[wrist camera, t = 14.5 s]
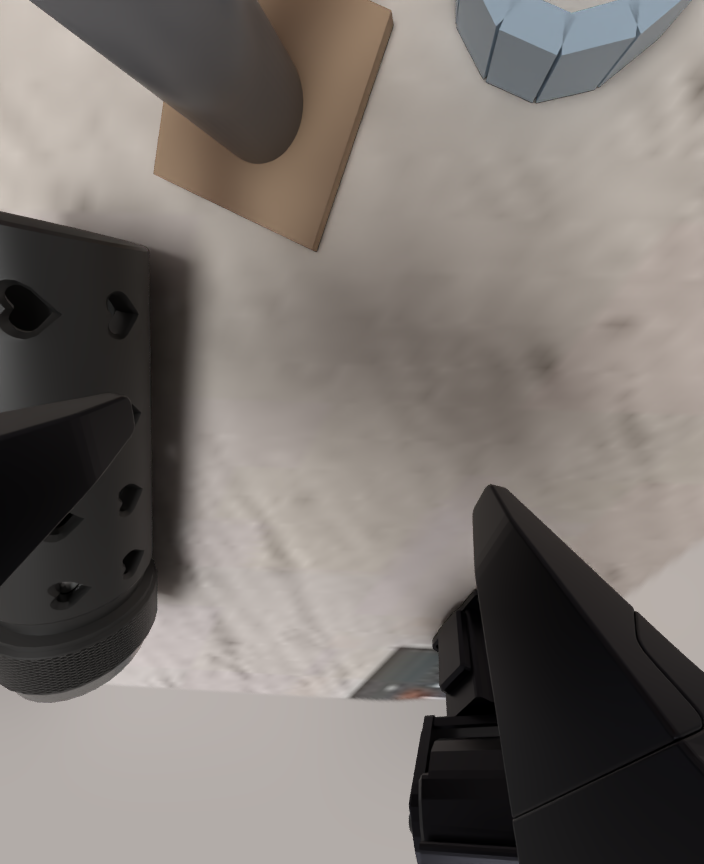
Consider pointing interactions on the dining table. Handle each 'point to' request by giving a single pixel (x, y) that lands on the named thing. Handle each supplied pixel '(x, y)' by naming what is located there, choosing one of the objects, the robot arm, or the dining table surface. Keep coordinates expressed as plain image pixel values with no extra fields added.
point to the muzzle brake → (118, 486)
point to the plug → (200, 64)
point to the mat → (319, 129)
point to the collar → (558, 42)
